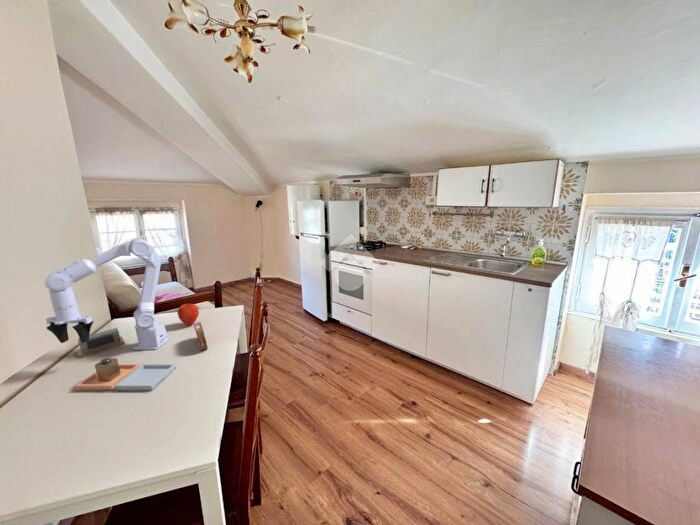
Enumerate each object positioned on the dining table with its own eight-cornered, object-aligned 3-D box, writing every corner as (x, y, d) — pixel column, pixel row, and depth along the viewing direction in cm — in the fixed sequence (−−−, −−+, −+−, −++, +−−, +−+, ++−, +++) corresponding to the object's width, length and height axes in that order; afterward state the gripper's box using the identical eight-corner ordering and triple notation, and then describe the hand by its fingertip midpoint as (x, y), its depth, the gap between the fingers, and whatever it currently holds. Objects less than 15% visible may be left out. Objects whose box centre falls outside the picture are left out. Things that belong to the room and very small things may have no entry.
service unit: (125, 343, 115) (121, 330, 114) (79, 358, 106) (75, 344, 104) (122, 338, 120) (119, 325, 119) (77, 351, 110) (74, 338, 109)
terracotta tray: (140, 368, 98) (139, 363, 98) (112, 390, 87) (110, 385, 86) (109, 368, 98) (108, 364, 98) (77, 390, 87) (75, 385, 87)
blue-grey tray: (176, 368, 97) (175, 363, 97) (152, 390, 86) (151, 385, 86) (144, 368, 98) (143, 363, 98) (116, 390, 87) (115, 385, 86)
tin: (208, 351, 108) (205, 332, 106) (199, 354, 106) (196, 334, 104) (204, 336, 120) (201, 318, 118) (196, 338, 119) (193, 320, 117)
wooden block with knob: (120, 373, 94) (116, 356, 93) (110, 381, 90) (105, 363, 89) (109, 373, 94) (105, 356, 93) (98, 381, 90) (93, 363, 89)
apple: (203, 320, 136) (200, 300, 133) (195, 328, 127) (191, 307, 125) (185, 321, 135) (182, 301, 133) (176, 329, 127) (172, 307, 125)
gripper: (31, 310, 92) (43, 347, 95) (74, 310, 91) (84, 347, 94) (54, 303, 99) (64, 337, 102) (93, 302, 98) (102, 337, 101)
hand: (75, 341), depth 99 cm, fingers open, 7 cm apart
